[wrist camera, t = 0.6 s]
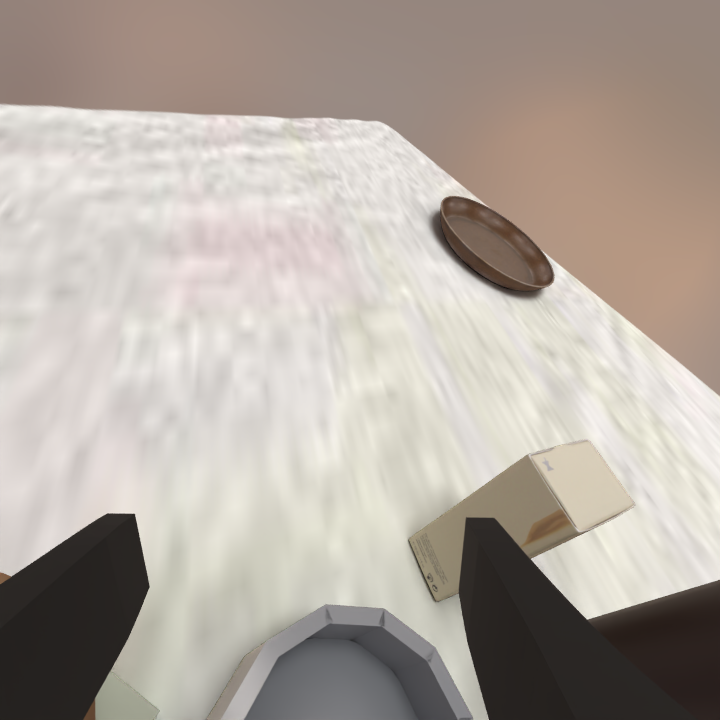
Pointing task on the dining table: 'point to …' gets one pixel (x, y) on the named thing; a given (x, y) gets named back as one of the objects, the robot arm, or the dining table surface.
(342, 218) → the dining table surface
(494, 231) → the plant saucer
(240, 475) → the dining table surface
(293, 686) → the bowl
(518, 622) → the robot arm
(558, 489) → the skincare box
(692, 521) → the dining table surface
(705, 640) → the bottle
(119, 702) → the mat
